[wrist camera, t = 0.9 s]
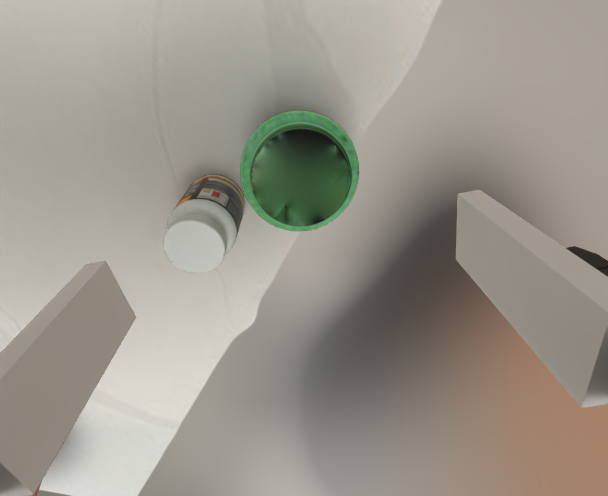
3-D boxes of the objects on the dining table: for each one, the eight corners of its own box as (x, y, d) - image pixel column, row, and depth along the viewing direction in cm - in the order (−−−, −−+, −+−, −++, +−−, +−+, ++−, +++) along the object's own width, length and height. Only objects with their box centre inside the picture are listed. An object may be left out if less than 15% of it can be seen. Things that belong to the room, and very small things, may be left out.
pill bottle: (192, 166, 33) (158, 204, 25) (251, 182, 34) (238, 223, 26) (184, 218, 36) (151, 270, 27) (239, 232, 37) (224, 285, 28)
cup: (238, 159, 33) (215, 206, 23) (278, 77, 30) (273, 87, 19) (311, 198, 35) (321, 257, 25) (356, 125, 32) (389, 158, 22)
